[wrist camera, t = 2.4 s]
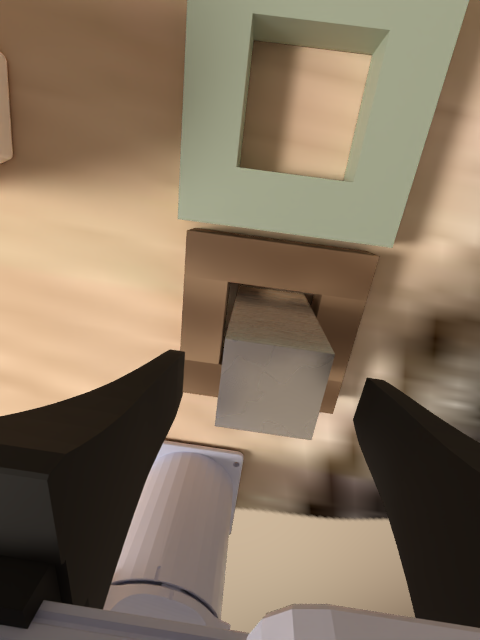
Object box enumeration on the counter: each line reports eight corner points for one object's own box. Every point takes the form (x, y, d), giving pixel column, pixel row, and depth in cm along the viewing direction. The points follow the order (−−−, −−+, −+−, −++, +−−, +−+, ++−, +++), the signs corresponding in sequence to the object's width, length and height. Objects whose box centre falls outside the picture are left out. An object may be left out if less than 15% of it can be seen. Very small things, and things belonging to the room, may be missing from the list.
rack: (377, 243, 16) (392, 247, 15) (187, 218, 17) (177, 218, 15) (452, -16, 12) (486, -56, 11) (201, -46, 13) (191, -91, 11)
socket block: (326, 395, 20) (332, 413, 18) (185, 374, 20) (178, 391, 19) (366, 251, 17) (379, 256, 15) (195, 227, 17) (186, 230, 15)
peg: (291, 350, 19) (311, 440, 12) (232, 342, 19) (214, 426, 12) (303, 293, 18) (334, 354, 10) (239, 284, 18) (225, 338, 10)
